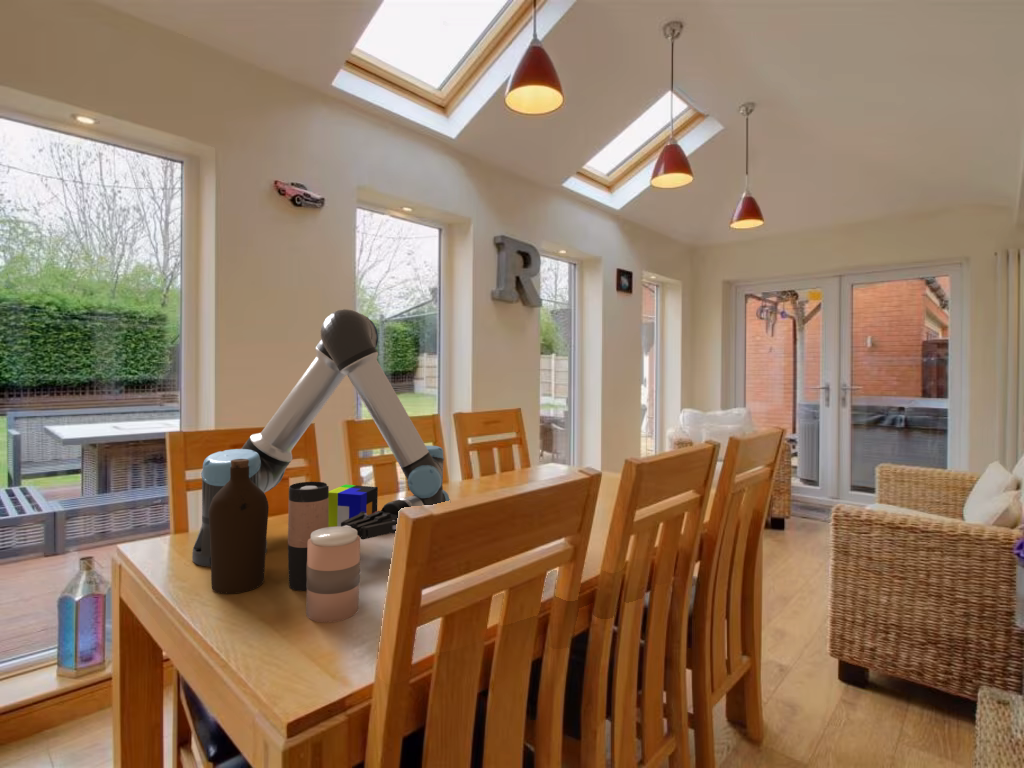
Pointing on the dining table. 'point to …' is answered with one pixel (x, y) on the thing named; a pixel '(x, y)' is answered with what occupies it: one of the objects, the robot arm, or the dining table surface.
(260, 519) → the olive oil
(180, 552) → the dining table surface
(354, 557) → the terracotta canister
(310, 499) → the travel mug
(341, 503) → the puzzle toy
